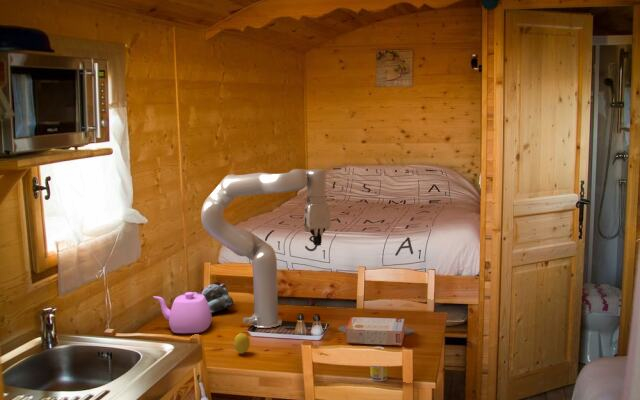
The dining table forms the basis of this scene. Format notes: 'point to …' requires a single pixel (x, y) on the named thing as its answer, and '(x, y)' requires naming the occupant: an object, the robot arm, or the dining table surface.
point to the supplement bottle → (378, 372)
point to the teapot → (187, 313)
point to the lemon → (241, 343)
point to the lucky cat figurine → (217, 297)
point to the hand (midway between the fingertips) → (317, 244)
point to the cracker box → (375, 331)
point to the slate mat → (407, 331)
